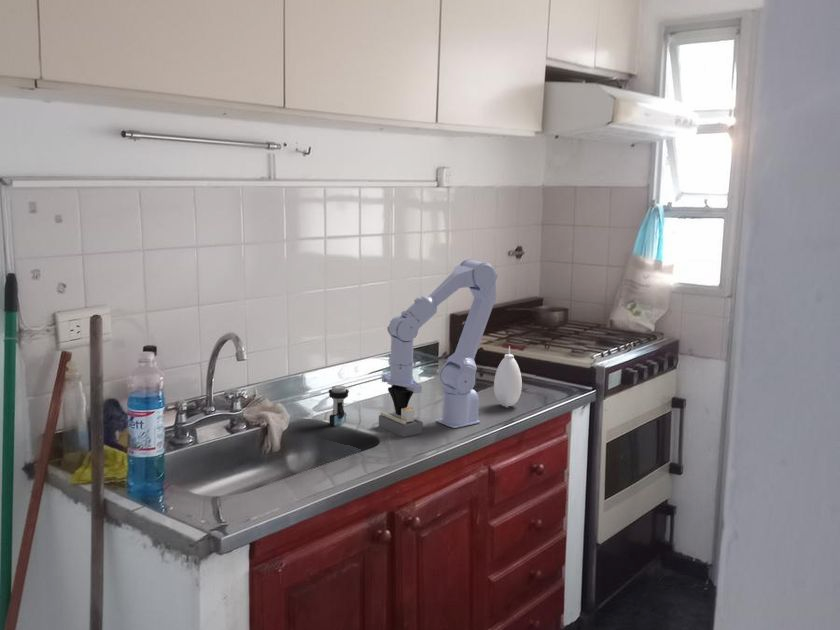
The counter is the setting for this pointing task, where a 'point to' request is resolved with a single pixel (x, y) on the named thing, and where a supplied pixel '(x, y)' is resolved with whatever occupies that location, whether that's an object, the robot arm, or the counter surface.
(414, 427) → the grey shallow tray
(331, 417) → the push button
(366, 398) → the counter surface
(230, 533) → the counter surface
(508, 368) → the air blower bulb
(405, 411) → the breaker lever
